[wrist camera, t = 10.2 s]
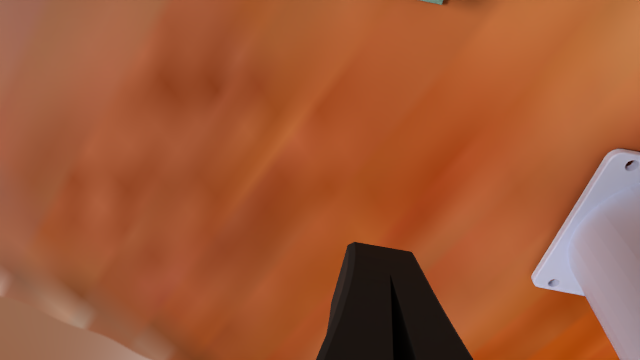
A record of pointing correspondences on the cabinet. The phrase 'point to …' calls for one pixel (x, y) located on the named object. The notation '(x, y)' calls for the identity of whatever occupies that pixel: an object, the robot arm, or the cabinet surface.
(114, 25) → the cabinet surface
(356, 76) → the cabinet surface
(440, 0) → the frame
